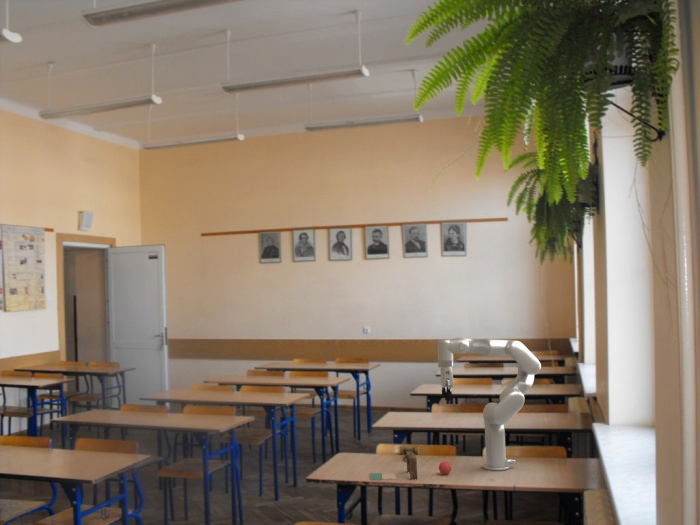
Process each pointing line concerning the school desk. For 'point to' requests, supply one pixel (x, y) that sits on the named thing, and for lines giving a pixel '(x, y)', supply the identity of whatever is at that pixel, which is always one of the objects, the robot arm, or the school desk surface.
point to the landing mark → (376, 476)
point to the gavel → (409, 450)
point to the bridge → (411, 465)
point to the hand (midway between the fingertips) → (446, 398)
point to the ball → (445, 467)
